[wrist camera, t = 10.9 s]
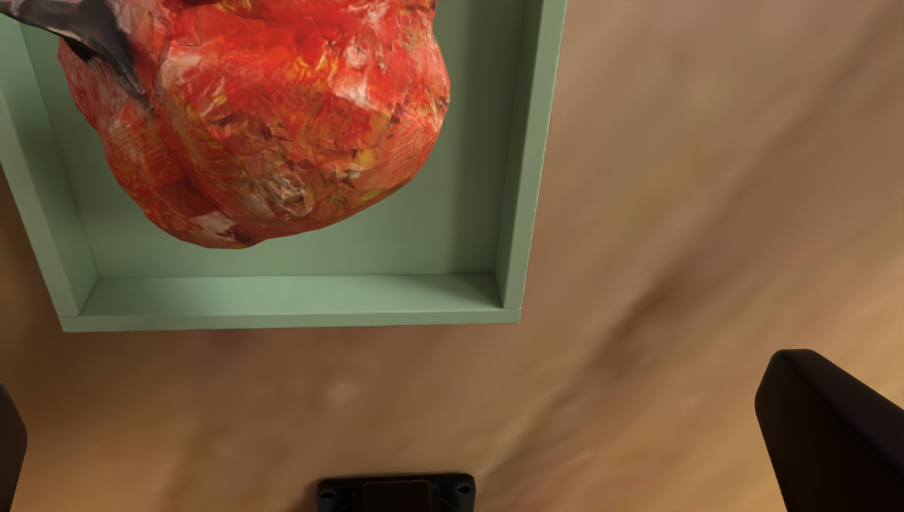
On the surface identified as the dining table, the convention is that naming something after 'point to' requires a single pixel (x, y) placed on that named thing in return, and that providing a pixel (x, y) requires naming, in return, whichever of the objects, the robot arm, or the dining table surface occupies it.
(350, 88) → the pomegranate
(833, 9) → the dining table surface
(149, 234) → the tray
